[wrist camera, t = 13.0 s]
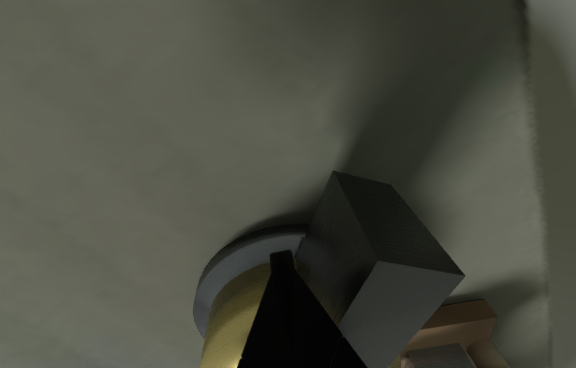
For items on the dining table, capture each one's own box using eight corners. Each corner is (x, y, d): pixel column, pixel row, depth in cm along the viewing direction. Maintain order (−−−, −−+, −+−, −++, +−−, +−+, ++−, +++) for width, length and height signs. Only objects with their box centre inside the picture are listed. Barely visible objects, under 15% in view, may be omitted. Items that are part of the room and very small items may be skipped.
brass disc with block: (337, 368, 17) (360, 468, 13) (197, 358, 15) (175, 471, 11) (455, 200, 11) (557, 292, 7) (251, 150, 9) (245, 237, 5)
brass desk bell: (377, 335, 18) (423, 457, 13) (222, 360, 18) (208, 493, 13) (385, 209, 13) (467, 329, 8) (169, 242, 13) (109, 387, 8)
